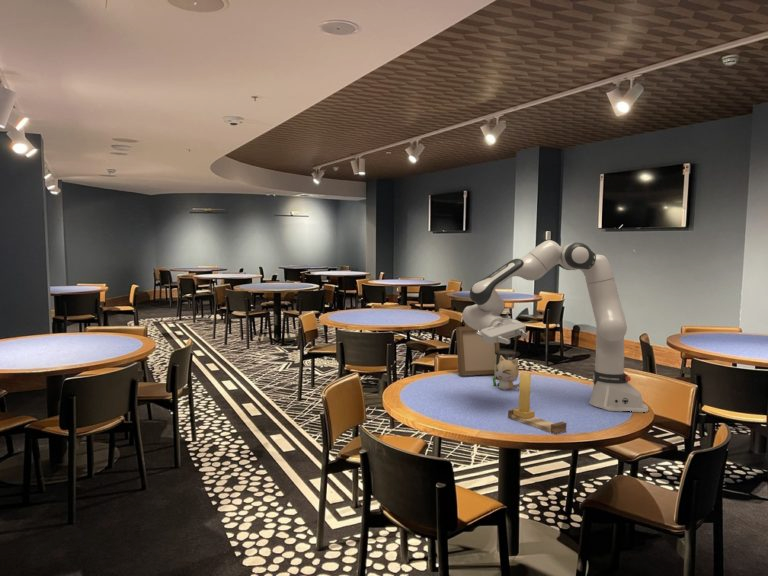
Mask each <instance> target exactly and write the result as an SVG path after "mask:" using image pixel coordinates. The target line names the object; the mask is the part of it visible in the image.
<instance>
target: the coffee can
mask: <svg viewBox="0 0 768 576" xmlns="http://www.w3.org/2000/svg"><path fill="white" fill-rule="evenodd" d="M500 355H502V357H503V358H504V359H505V360H510V361H512V360H514V359H517V358H516V356H517V353H516V351H513V350H507V349H506V350H505V349H500V350H497V351H495V369H494V374H493V377H494V376H495V381H496V380H497V381H496V382H500V380H501V379H499V378H497V376H496V367H497V365H498V364H499V360H500ZM512 382H513V383H514V381H512Z"/></svg>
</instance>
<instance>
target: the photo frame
mask: <svg viewBox="0 0 768 576" xmlns="http://www.w3.org/2000/svg"><path fill="white" fill-rule="evenodd" d="M476 332H477V330H475V329H473V328H471V327H470V326H457V327H455V336H456V350H457V365H458V367H457V369H458V376H459V375H460V376H475V375H476V376H480V375H481V376H482V375H494V369H495V351H497V350H501V349H500V343H499V342H497V343H494V344H488V343H486V342H485V341H483V340H482V339H481V338H480V336H478V335H476Z"/></svg>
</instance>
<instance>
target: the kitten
mask: <svg viewBox="0 0 768 576" xmlns="http://www.w3.org/2000/svg"><path fill="white" fill-rule="evenodd" d="M518 365H519V359H518V358H516V359H514V360H512V361H510V360H505V359H504V358H503V357H502V355H500V360H499V364H498V365H497V367H496V376H497V378H499V379H501V380H500V381H498V383H496V382H497V381H496V380H495V376H494V375H493V377H492V383H493V387H499V390H502V391H505V390H506V391H507V390H512V389H515V388H519V386H520V382H518V383H517V384H514V382H515V381H516V380H517V379H518V378H519V376H520V373H519V366H518ZM512 381H513V382H512Z"/></svg>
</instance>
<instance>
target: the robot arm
mask: <svg viewBox="0 0 768 576" xmlns="http://www.w3.org/2000/svg"><path fill="white" fill-rule="evenodd" d="M555 266H559V267H560V268H562V269H563V270H567V271H576V270H579V271H581V273H582V274H583V276H584V277H585V282H586V283H585V284H586V286H587V287H586V288H587V291H588V297H589V300H590V303H591V308H592V312H593V316H594V319H595V326H596V329H595V331H596V333H595V334H596V335H595V361H594V362H595V363H594V364H595V365H594V370H593V374H592V375H593V377H592V382H593V383H592V384H593V389H592V391H591V392H592V393H591V396H590V399H589V401H588V402H589V404H590V405H591V406H593V407H596V408H601V409H603V410H605V411H609V412H622V411H630V412H629V413H643V412H645V413H648V411H649V406H648V405H647V404H646V403H644V400H643V397H642V394H641V392H640V391H639V390H638V389H637V388H635V387H634V386H633V385H632V384H631V383H630V382H631V376H629V375H628V374H626V373H625V372H624V369H625V367H624V366H625V336H626V333H627V331H628V325H627V322H626V319H625V314H624V311H623V307H622V304H621V303H622V302H621V299H620V295H619V291H618V288H617V282H616V280H615V276H614V271H613V269H612V266H611V264H610V262H609V259H608V258H607V257H606V256H605V255H602V254H597V253H594V252H593V250H591V248H590V247H589V246H588V245H586V244H585V243H582V242H573V243H572V242H571V243H568V244H567V245H564V246H561V245H559V243H557V242H556V241H554V240H550V239H548V240H545V241H543V242H541V243H540V244H538V245H537V246H535V247H534V248H533V249H531V250H530V251H529V252H528V253H526V255H524V256H522V257H521V258H514V259H511V260H509V261H508V262H506V263H505V264H503V265H502V266H501V267H499V268H498V269H496V270H495V271H493V272H492V273H490V274H489V275H487V276H486V277H484V278H483V279H479V280H477V281H476V282H475V283H474V284H472V285H471V287H470V290H469V298H470V300H471V301H472V302H474V303H475V304H473V305H467V306H466V307H464V309H463V311H462V319H463V322H464V323H465V325H467V327H471V328H473V329H475V330H477V332H476V335H478V336H480V338H481V339H482V340H483V341H485V342H486V343H488V344H494V343H497V342H499V344H500V343H501V344H504V345H509V344H511V338H515V337H518V336H521V338H522V339H527V338H528V336H529V335H528V333H526V331H527V330H526V328H527V327H526V324H525V323H523V322H522V321H519V320H517V319H515V318H511V317H512V316H510V315H501V314H502V313H504V311H505V309H506V303H505V301H504V299H503V298H502V297H501V295H500V294H499V293H498V292H497V291H496V289H497V288H498V287H499V286H500V285H502V284H503V283H505V282H506V281H508V280H509V279H511V278H513V277H518V278H521V279H523V280H526V281H537V280H539V279H541V278H542V277H543V276H544V275H545V274H547V273H548V272H549V271H550V270H551V269H552V268H553V267H555ZM631 411H632V412H631Z"/></svg>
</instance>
